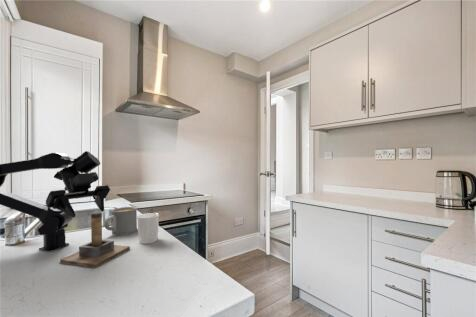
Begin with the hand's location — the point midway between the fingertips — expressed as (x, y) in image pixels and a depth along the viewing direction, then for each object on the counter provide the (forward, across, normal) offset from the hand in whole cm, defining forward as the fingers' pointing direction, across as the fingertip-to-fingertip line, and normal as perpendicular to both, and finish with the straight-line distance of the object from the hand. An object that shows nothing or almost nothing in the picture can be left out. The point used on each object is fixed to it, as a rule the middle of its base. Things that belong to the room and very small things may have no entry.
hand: (89, 213), depth 78 cm
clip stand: (+13, 0, +6) cm, 14 cm away
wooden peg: (+12, 0, +6) cm, 13 cm away
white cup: (+16, +17, +4) cm, 24 cm away
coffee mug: (+2, +18, +18) cm, 26 cm away
